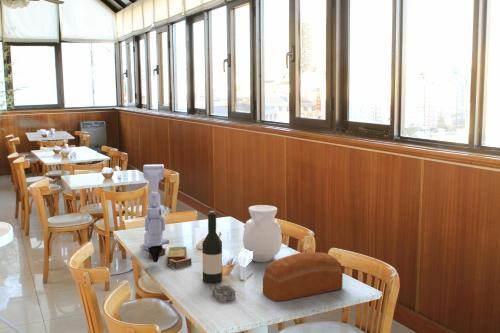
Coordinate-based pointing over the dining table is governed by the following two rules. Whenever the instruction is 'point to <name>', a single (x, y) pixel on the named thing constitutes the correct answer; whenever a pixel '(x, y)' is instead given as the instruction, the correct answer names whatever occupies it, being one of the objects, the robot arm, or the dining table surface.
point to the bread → (302, 276)
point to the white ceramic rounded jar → (262, 233)
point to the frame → (175, 263)
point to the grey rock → (224, 293)
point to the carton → (176, 253)
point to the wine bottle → (212, 253)
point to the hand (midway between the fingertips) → (155, 261)
